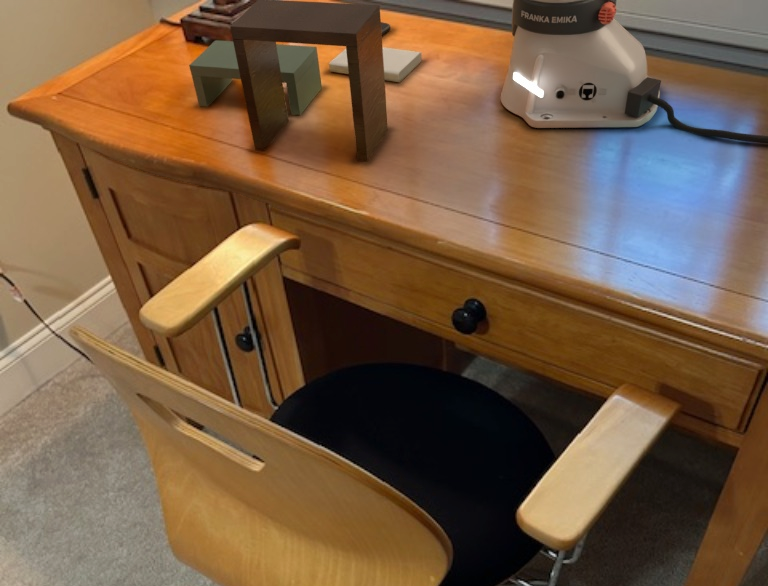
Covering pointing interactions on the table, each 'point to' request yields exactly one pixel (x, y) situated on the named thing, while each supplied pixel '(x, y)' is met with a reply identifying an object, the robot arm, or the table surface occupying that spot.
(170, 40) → the table surface
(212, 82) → the low shelf
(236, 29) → the high shelf
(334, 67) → the hard drive
